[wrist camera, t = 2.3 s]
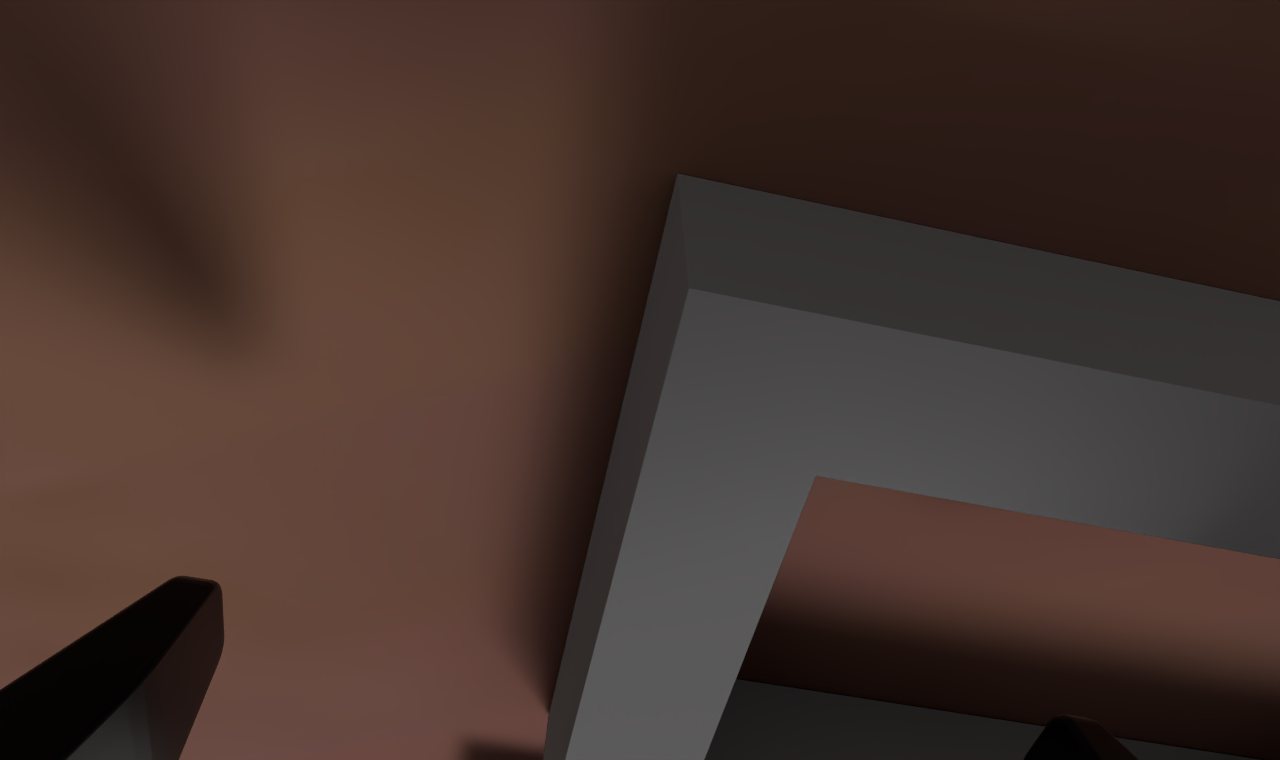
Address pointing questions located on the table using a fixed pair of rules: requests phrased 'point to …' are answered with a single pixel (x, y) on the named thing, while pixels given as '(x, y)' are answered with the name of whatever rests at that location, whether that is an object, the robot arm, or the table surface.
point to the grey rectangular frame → (884, 452)
